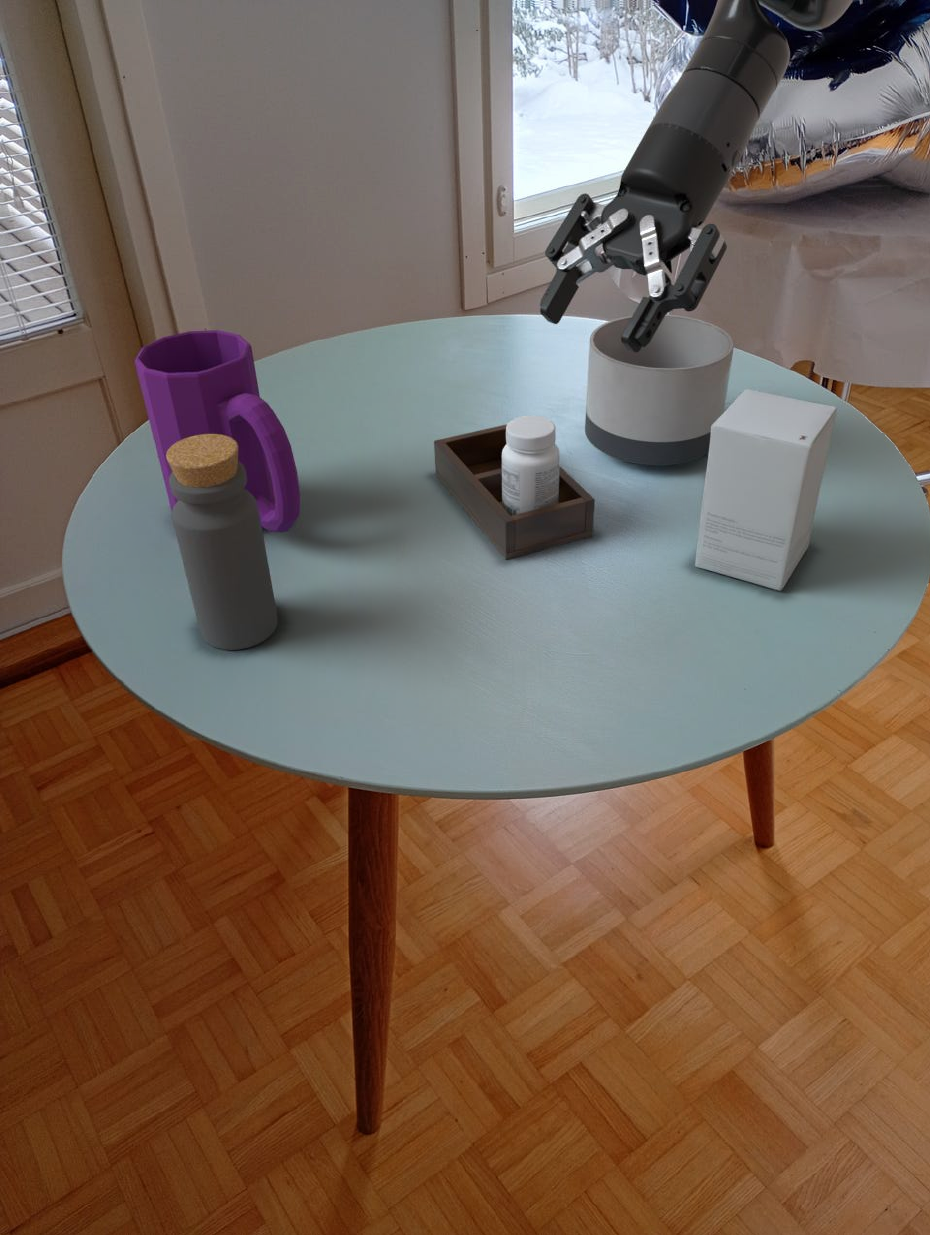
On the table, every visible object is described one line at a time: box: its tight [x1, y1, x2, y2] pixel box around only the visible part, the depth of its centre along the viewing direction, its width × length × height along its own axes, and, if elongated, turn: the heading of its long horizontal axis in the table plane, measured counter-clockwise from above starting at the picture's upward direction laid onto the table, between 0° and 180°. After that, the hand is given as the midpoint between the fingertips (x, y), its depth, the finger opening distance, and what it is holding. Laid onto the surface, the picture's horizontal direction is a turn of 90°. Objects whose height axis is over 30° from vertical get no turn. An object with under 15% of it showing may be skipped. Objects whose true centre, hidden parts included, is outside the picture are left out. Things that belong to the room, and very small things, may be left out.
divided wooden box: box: [433, 424, 596, 560], centre depth 86 cm, size 8×15×4 cm, turn 23°
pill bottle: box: [502, 415, 561, 516], centre depth 81 cm, size 5×5×8 cm
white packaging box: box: [694, 388, 838, 592], centre depth 76 cm, size 7×7×13 cm
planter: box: [584, 314, 735, 466], centre depth 92 cm, size 13×13×10 cm
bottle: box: [166, 434, 279, 651], centre depth 70 cm, size 6×6×15 cm
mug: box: [134, 329, 301, 533], centre depth 81 cm, size 9×16×15 cm, turn 47°
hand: (586, 332), depth 79 cm, fingers open, 8 cm apart
